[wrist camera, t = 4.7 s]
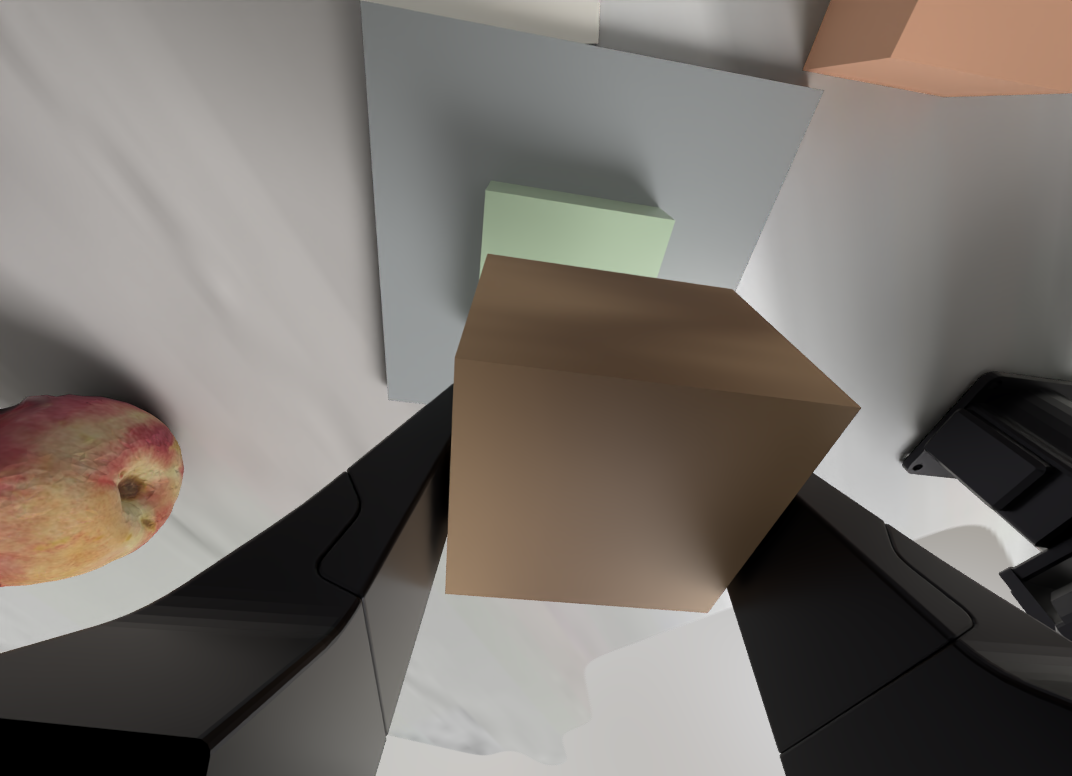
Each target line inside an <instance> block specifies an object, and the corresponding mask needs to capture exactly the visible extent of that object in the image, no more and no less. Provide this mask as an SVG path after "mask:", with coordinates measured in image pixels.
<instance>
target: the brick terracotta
mask: <svg viewBox="0 0 1072 776" xmlns="http://www.w3.org/2000/svg"><path fill="white" fill-rule="evenodd" d="M803 71H808V72H814V73H819V74H824V75H830V76H835V77H840V78H845V79H851V80H856V81H861V82H867V83H872V84H877V85H883V86H888V87H893V88H899V89H904V90H909V91H914V92H920V93H925V94H930V95H936V96H941V97H964V96H997V95H1030V94H1063V93H1072V0H831V1H830V3H829V6H828V8H827V11H826V13H825V16H824V18H823V21H822V23H821V26H820V28H819V31H818V33H817V36H816V38H815V41H814V43H813V45H812V48H811V50H810V53H809V55H808V58H807V60H806V63H805V65H804V68H803Z"/></svg>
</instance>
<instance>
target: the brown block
mask: <svg viewBox="0 0 1072 776" xmlns="http://www.w3.org/2000/svg"><path fill="white" fill-rule="evenodd" d="M860 409H861V407H860V406H859V405H858V404H857V403H856V402H854V401H853V400H852V399H851V398H850V397H849V396H848V395H847V394H846V393H845V392H844V391H842V390H841V389H840V388H839V387H838V386H837V385H836V384H835V383H834V382H833V381H832V380H831V379H829V378H828V377H827V376H826V375H825V374H824V373H823V372H822V371H821V370H820V369H819V368H817V367H816V366H815V365H814V364H813V363H812V362H811V361H810V360H809V359H808V358H807V357H805V356H804V355H803V354H802V353H801V352H800V351H799V350H798V349H797V348H796V347H795V346H794V345H792V344H791V343H790V342H789V341H788V340H787V339H786V338H785V337H784V336H783V335H782V334H780V333H779V332H778V331H777V330H776V329H775V328H774V327H773V326H772V325H771V324H770V323H769V322H767V321H766V320H765V319H764V318H763V317H762V316H761V315H760V314H759V313H758V312H757V311H755V310H754V309H753V308H752V307H751V306H750V305H749V304H748V303H747V302H746V301H745V300H743V299H742V298H741V297H740V296H739V295H738V294H737V293H736V292H735V291H734V290H733V289H728V288H721V287H715V286H708V285H701V284H694V283H687V282H680V281H673V280H666V279H660V278H653V277H646V276H639V275H632V274H625V273H618V272H611V271H605V270H598V269H591V268H584V267H577V266H570V265H563V264H556V263H549V262H543V261H536V260H529V259H522V258H515V257H508V256H501V255H494V254H488V253H487V257H486V260H485V263H484V266H483V269H482V272H481V276H480V279H479V282H478V285H477V288H476V292H475V295H474V298H473V301H472V304H471V307H470V311H469V314H468V317H467V320H466V323H465V326H464V330H463V333H462V336H461V339H460V342H459V346H458V349H457V352H456V355H455V360H454V386H453V411H452V437H451V462H450V487H449V513H448V538H447V564H446V589H445V594H456V595H469V596H483V597H497V598H510V599H524V600H538V601H551V602H565V603H579V604H592V605H606V606H620V607H633V608H647V609H661V610H674V611H688V612H702V613H708V612H709V610H710V609H711V608H712V606H713V605H714V604H715V602H716V601H717V600H718V598H719V597H720V596H721V594H722V593H723V592H724V590H725V589H726V588H727V586H728V585H729V584H730V582H731V581H732V580H733V578H734V577H735V576H736V574H737V573H738V572H739V570H740V569H741V568H742V566H743V565H744V564H745V562H746V561H747V560H748V558H749V557H750V556H751V554H752V553H753V552H754V550H755V549H756V548H757V546H758V545H759V544H760V542H761V541H762V540H763V538H764V537H765V536H766V534H767V533H768V532H769V530H770V529H771V528H772V526H773V525H774V524H775V522H776V521H777V520H778V518H779V517H780V516H781V514H782V513H783V512H784V510H785V509H786V508H787V506H788V505H789V504H790V502H791V501H792V500H793V498H794V497H795V496H796V494H797V493H798V492H799V490H800V489H801V488H802V486H803V485H804V484H805V482H806V481H807V480H808V478H809V477H810V476H811V474H812V473H813V472H814V470H815V469H816V468H817V466H818V465H819V464H820V462H821V461H822V460H823V458H824V457H825V456H826V454H827V453H828V452H829V450H830V449H831V448H832V446H833V445H834V444H835V442H836V441H837V440H838V438H839V437H840V436H841V434H842V433H843V432H844V430H845V429H846V428H847V426H848V425H849V424H850V422H851V421H852V420H853V418H854V417H855V415H856V414H857V413H858V411H859V410H860Z"/></svg>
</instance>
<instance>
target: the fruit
mask: <svg viewBox="0 0 1072 776" xmlns="http://www.w3.org/2000/svg"><path fill="white" fill-rule="evenodd" d="M183 472H184V466H183V460H182V455H181V449H180V447H179V445H178V442H177V441H176V439H175V437H174V435H173V434H172V433H171V432H170V430H169V428H168V427H167V426H166V425H165V424H164V423H162V422H161V421H160V420H159V419H157V418H156V417H155V416H153V415H151V414H150V413H148V412H146V411H144V410H142V409H140V408H138V407H136V406H134V405H131V404H129V403H126V402H122V401H118V400H114V399H110V398H105V397H101V396H78V395H71V394H68V395H63V396H58V397H55V396H49V395H41V396H28V397H26V398H25V399H24V400H23V401H22V402H21V403H20V404H17V405H15V406H11V407H8V408H4V409H0V587H4V586H21V585H31V584H37V583H43V582H49V581H56V580H61V579H65V578H69V577H73V576H77V575H81V574H84V573H87V572H90V571H92V570H95V569H97V568H100V567H102V566H104V565H106V564H108V563H109V562H111V561H114V560H116V559H119V558H121V557H123V556H126V555H128V554H130V553H132V552H134V551H135V550H137V549H138V548H140V547H141V546H142V545H144V544H145V543H146V542H148V540H149V539H150V538H151V537H153V535H154V534H155V533H156V532H157V531H158V529H159V528H160V527H161V526H162V525H163V524H164V523H165V521H166V520H167V518H168V517H169V515H170V513H171V511H172V509H173V506H174V503H175V501H176V499H177V497H178V495H179V491H180V487H181V484H182V478H183Z"/></svg>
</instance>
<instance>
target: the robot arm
mask: <svg viewBox="0 0 1072 776" xmlns="http://www.w3.org/2000/svg"><path fill="white" fill-rule="evenodd" d="M453 386H454V383H453V384H451V385H450V386H449V387H448V388H447V389H445V390H444V391H443V392H442V393H440V394H439V395H438V396H437V397H435V398H434V399H433V400H432V401H431V402H429V403H428V404H427V405H426V406H424V407H423V408H422V409H421V410H419V411H418V412H417V413H416V414H415V415H413V416H412V417H411V418H410V419H408V420H407V421H406V422H405V423H403V424H402V425H401V426H400V427H399V428H397V429H396V430H395V431H394V432H392V433H391V434H390V435H389V436H387V437H386V438H385V439H384V440H383V441H381V442H380V443H379V444H378V445H376V446H375V447H374V448H373V449H371V450H370V451H369V452H368V453H366V454H365V455H364V456H363V457H362V458H360V459H359V460H358V461H357V462H355V463H354V464H353V465H352V466H350V467H349V468H348V469H347V472H343V473H342V474H340V475H339V476H338V477H337V478H335V479H334V480H333V481H332V482H331V483H329V484H328V485H327V486H325V487H324V488H323V489H322V490H320V491H319V492H318V493H316V494H315V495H314V496H312V497H311V498H310V499H309V500H307V501H306V502H305V503H303V504H302V505H301V506H299V507H298V508H296V509H295V510H293V511H292V512H290V513H289V514H288V515H286V516H285V517H283V518H282V519H280V520H279V521H278V522H276V523H275V524H273V525H272V526H270V527H269V528H267V529H266V530H264V531H263V532H261V533H260V534H258V535H257V536H255V537H254V538H252V539H251V540H249V541H248V542H246V543H245V544H243V545H242V546H240V547H239V548H237V549H236V550H234V551H233V552H231V553H230V554H228V555H227V556H225V557H224V558H222V559H221V560H219V561H218V562H216V563H215V564H213V565H212V566H210V567H209V568H207V569H206V570H204V571H203V572H201V573H200V574H198V575H197V576H195V577H194V578H192V579H191V580H189V581H188V582H186V583H185V584H183V585H182V586H180V587H178V588H177V589H175V590H174V591H172V592H170V593H169V594H167V595H165V596H164V597H162V598H160V599H158V600H156V601H154V602H153V603H151V604H149V605H147V606H145V607H143V608H141V609H139V610H136V611H134V612H132V613H130V614H128V615H125V616H123V617H120V618H117V619H115V620H112V621H109V622H106V623H103V624H100V625H97V626H94V627H90V628H87V629H83V630H80V631H76V632H73V633H69V634H66V635H62V636H59V637H56V638H52V639H49V640H45V641H42V642H38V643H35V644H31V645H28V646H24V647H21V648H17V649H14V650H11V651H7V652H4V653H0V776H375V775H376V772H377V768H378V765H379V762H380V759H381V755H382V752H383V749H384V745H385V742H386V736H387V734H388V732H389V728H390V725H391V722H392V718H393V715H394V711H395V708H396V705H397V701H398V698H399V695H400V691H401V688H402V685H403V681H404V678H405V675H406V671H407V668H408V665H409V661H410V658H411V655H412V651H413V648H414V645H415V641H416V638H417V634H418V631H419V628H420V624H421V621H422V618H423V614H424V611H425V608H426V604H427V601H428V598H429V594H430V591H431V588H432V584H433V581H434V578H435V574H436V571H437V568H438V564H439V561H440V557H441V554H442V551H443V547H444V544H445V541H446V537H447V534H448V513H449V487H450V462H451V437H452V411H453ZM902 466H903V468H904V469H905V470H906V471H907V472H909V473H911V474H918V475H927V476H937V477H946V478H955V479H958V480H959V481H960V482H961V483H962V484H963V485H964V486H966V487H967V488H968V489H969V490H970V491H971V492H972V493H974V494H975V495H976V496H977V497H978V498H979V499H980V500H982V501H983V502H984V503H985V504H986V505H987V506H988V507H990V508H991V509H993V510H994V511H995V512H996V513H997V514H998V515H1000V516H1001V517H1002V518H1003V519H1004V520H1005V521H1006V522H1008V523H1009V524H1010V525H1011V526H1012V527H1013V528H1014V529H1016V530H1017V531H1018V532H1019V533H1020V534H1021V535H1022V536H1024V537H1025V538H1026V539H1027V540H1028V541H1029V542H1030V543H1032V544H1033V545H1034V546H1035V547H1036V548H1037V549H1038V550H1040V551H1041V552H1040V553H1039V554H1037V555H1035V556H1033V557H1031V558H1030V559H1028V560H1026V561H1024V562H1023V563H1021V564H1019V565H1017V566H1015V567H1008V568H1007V569H1005V570H1003V571H1001V572H999V575H1000V576H1001V578H1002V579H1003V580H1004V581H1005V583H1006V584H1007V585H1008V587H1009V588H1010V589H1011V593H1012V595H1013V596H1014V597H1015V598H1016V600H1017V601H1018V602H1019V604H1020V605H1021V606H1022V608H1023V609H1024V610H1025V611H1026V613H1025V612H1024V611H1022V610H1020V609H1019V608H1017V607H1015V606H1014V605H1012V604H1011V603H1009V602H1008V601H1006V600H1004V599H1002V598H1001V597H999V596H998V595H996V594H995V593H993V592H991V591H990V590H988V589H987V588H985V587H983V586H982V585H980V584H979V583H977V582H976V581H974V580H972V579H971V578H969V577H967V576H966V575H964V574H963V573H961V572H960V571H958V570H956V569H955V568H953V567H952V566H950V565H949V564H947V563H946V562H944V561H942V560H941V559H939V558H938V557H936V556H935V555H933V554H932V553H930V552H929V551H927V550H926V549H924V548H923V547H921V546H920V545H918V544H917V543H915V542H914V541H912V540H911V539H909V538H908V537H906V536H905V535H903V534H902V533H901V532H899V531H898V530H896V529H895V528H893V527H892V526H890V525H889V524H885V523H884V521H883V520H881V519H880V518H878V517H877V516H875V515H874V514H873V513H871V512H870V511H868V510H867V509H865V508H864V507H862V506H861V505H859V504H858V503H856V502H855V501H853V500H852V499H850V498H849V497H848V496H846V495H845V494H843V493H842V492H840V491H839V490H837V489H836V488H834V487H833V486H831V485H830V484H828V483H827V482H826V481H824V480H823V479H821V478H820V477H818V476H817V475H815V474H814V473H812V474H811V476H810V477H809V478H808V480H807V481H806V482H805V484H804V485H803V486H802V488H801V489H800V490H799V492H798V493H797V494H796V496H795V497H794V498H793V500H792V501H791V502H790V504H789V505H788V506H787V508H786V509H785V510H784V512H783V513H782V514H781V516H780V517H779V518H778V520H777V521H776V522H775V524H774V525H773V526H772V528H771V529H770V530H769V532H768V533H767V534H766V536H765V537H764V538H763V540H762V541H761V542H760V544H759V545H758V546H757V548H756V549H755V550H754V552H753V553H752V554H751V556H750V557H749V558H748V560H747V561H746V562H745V564H744V565H743V566H742V568H741V569H740V570H739V572H738V573H737V574H736V576H735V577H734V578H733V580H732V581H731V582H730V584H729V585H728V586H727V590H728V593H729V596H730V599H731V602H732V606H733V609H734V612H735V615H736V618H737V621H738V625H739V627H740V631H741V634H742V637H743V640H744V644H745V646H746V650H747V653H748V656H749V659H750V663H751V666H752V669H753V672H754V675H755V678H756V682H757V685H758V688H759V691H760V694H761V697H762V701H763V704H764V707H765V710H766V713H767V716H768V720H769V723H770V726H771V729H772V732H773V735H774V739H775V742H776V745H777V748H778V751H779V752H780V753H781V754H780V758H781V762H782V765H783V768H784V771H785V774H786V776H1072V382H1070V381H1062V380H1055V379H1047V378H1040V377H1033V376H1025V375H1018V374H1010V373H1003V372H989V373H987V374H985V375H983V376H982V377H980V378H979V379H978V380H977V381H976V383H975V384H974V385H973V386H972V387H971V388H970V389H969V390H968V391H967V392H966V394H965V395H964V396H963V397H962V398H961V399H960V400H959V401H958V402H957V403H956V405H955V406H954V407H953V408H952V409H951V410H950V411H949V412H948V413H947V414H946V416H945V417H944V418H943V419H942V420H941V421H940V422H939V423H938V424H937V425H936V427H935V428H934V429H933V430H932V431H931V432H930V433H929V434H928V435H927V436H926V438H925V439H924V440H923V441H922V442H921V443H920V444H919V445H918V446H917V447H916V449H915V450H914V451H913V452H912V453H911V454H910V455H909V456H908V457H907V459H906V460H905V461H904V462H903V464H902Z"/></svg>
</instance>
